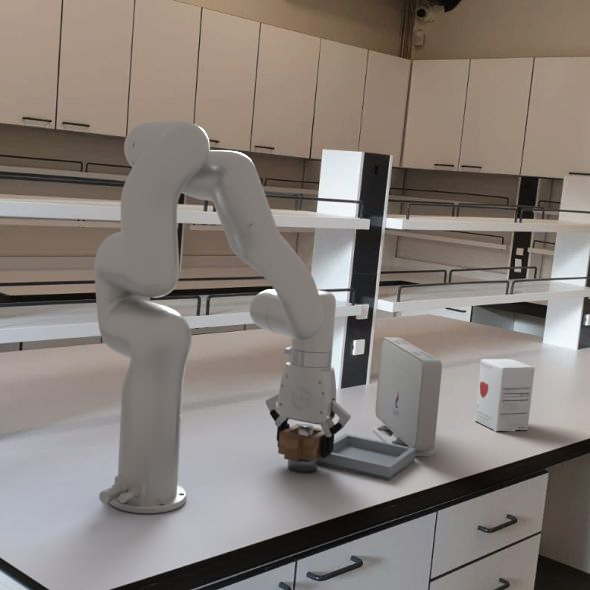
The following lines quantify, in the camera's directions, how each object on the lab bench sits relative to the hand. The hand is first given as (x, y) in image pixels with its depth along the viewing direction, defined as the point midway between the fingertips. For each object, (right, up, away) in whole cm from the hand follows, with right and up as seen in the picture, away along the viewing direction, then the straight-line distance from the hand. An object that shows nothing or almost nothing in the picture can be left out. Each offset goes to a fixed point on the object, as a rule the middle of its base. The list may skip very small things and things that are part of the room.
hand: (304, 450), depth 160 cm
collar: (0, 0, 0) cm, 0 cm away
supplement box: (+46, -2, +40) cm, 61 cm away
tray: (+12, -3, +7) cm, 14 cm away
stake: (0, -3, 0) cm, 3 cm away
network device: (+21, -2, +22) cm, 30 cm away
